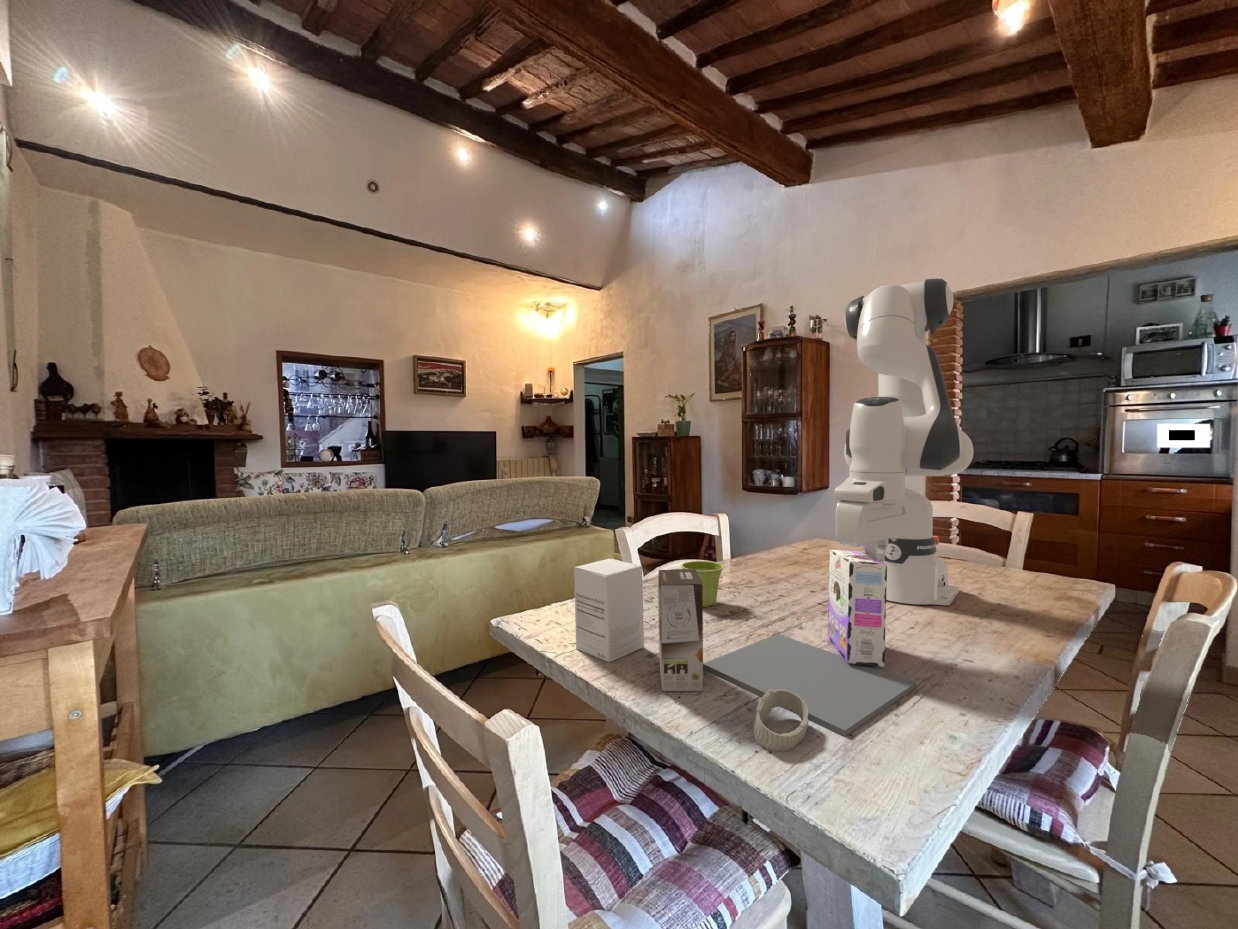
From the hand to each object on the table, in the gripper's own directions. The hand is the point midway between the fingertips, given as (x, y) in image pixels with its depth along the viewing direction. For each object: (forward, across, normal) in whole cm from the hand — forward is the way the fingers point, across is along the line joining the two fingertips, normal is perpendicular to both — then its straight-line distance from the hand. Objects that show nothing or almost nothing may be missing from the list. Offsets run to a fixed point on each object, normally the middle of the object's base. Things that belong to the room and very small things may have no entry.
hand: (875, 564), depth 90 cm
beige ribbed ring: (+15, +37, +7) cm, 41 cm away
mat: (+14, +22, 0) cm, 26 cm away
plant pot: (+14, +8, -35) cm, 39 cm away
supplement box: (+14, +39, -28) cm, 50 cm away
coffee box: (+14, +37, -12) cm, 41 cm away
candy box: (+14, +8, 0) cm, 16 cm away
